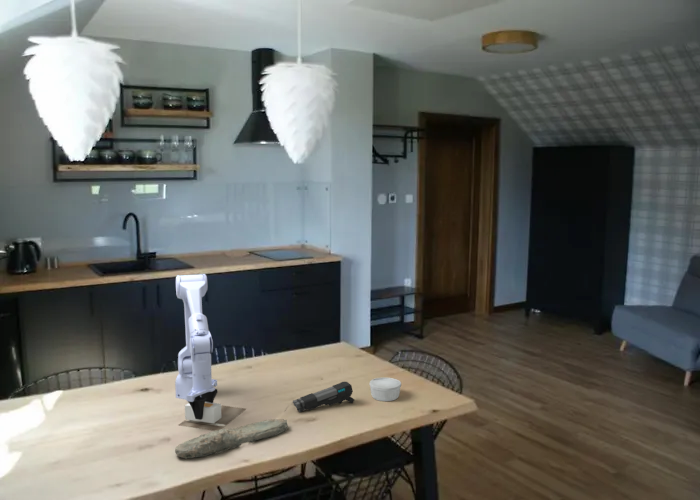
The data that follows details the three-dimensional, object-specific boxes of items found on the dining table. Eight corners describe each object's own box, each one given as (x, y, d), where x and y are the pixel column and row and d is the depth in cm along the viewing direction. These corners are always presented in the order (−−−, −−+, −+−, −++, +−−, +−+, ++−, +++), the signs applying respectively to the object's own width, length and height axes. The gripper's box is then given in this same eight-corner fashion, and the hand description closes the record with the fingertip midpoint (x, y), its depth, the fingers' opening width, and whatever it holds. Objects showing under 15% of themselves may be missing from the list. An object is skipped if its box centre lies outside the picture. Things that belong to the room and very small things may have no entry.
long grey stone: (295, 437, 181) (278, 428, 189) (295, 420, 181) (278, 411, 189) (183, 465, 160) (169, 452, 168) (183, 445, 160) (169, 434, 168)
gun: (357, 402, 203) (348, 377, 201) (306, 431, 197) (296, 405, 194) (352, 398, 207) (343, 373, 205) (301, 425, 201) (291, 400, 198)
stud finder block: (185, 419, 185) (184, 405, 185) (193, 413, 190) (192, 399, 189) (213, 423, 182) (213, 408, 182) (221, 417, 187) (220, 403, 186)
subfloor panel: (178, 428, 183) (177, 424, 183) (208, 406, 201) (208, 403, 200) (218, 434, 179) (218, 431, 179) (246, 411, 196) (246, 408, 196)
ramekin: (391, 389, 217) (391, 375, 217) (407, 399, 207) (407, 385, 207) (363, 394, 212) (363, 379, 212) (378, 405, 203) (378, 390, 202)
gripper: (200, 382, 176) (202, 426, 178) (225, 367, 190) (226, 408, 191) (179, 380, 178) (181, 423, 180) (205, 365, 192) (206, 405, 194)
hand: (203, 415), depth 186 cm, fingers closed on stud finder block, 4 cm apart
